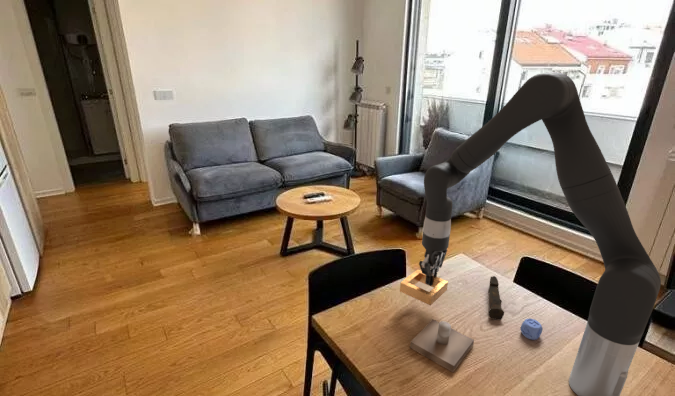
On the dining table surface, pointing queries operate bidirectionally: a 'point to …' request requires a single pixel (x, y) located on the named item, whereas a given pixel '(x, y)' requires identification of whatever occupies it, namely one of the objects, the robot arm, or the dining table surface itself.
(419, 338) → the keeper
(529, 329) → the decorative dice
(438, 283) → the link
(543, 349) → the dining table surface
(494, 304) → the hand tool
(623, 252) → the robot arm
